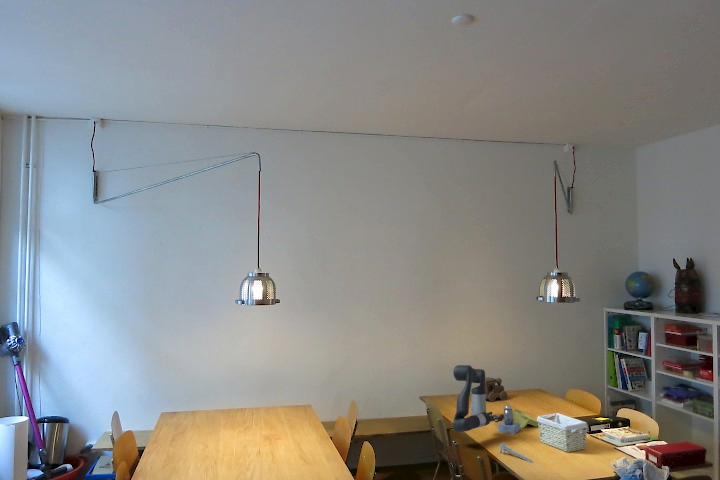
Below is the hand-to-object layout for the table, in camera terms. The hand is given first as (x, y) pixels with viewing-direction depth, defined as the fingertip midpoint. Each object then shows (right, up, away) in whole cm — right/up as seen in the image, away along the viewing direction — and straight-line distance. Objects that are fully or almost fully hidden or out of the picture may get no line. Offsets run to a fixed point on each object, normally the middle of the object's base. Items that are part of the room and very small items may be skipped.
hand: (497, 414), depth 324 cm
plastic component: (+23, -13, +20) cm, 33 cm away
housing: (+9, -8, +6) cm, 13 cm away
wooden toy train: (+19, -17, +85) cm, 89 cm away
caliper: (-1, -10, -41) cm, 42 cm away
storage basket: (+31, -10, -24) cm, 40 cm away
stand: (+9, -12, +6) cm, 16 cm away
